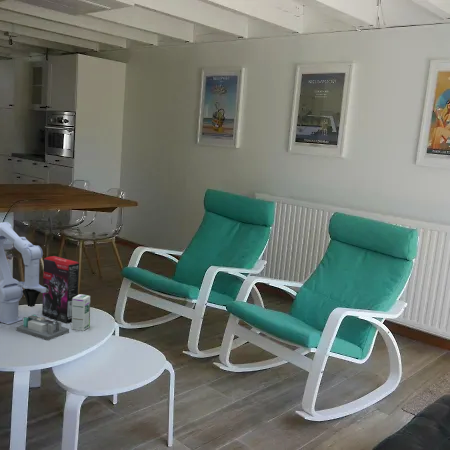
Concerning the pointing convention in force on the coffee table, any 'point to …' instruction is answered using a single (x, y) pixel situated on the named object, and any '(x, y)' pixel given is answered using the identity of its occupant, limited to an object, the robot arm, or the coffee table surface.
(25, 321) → the clamp board
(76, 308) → the syrup box
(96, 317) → the coffee table surface
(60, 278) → the graphics card box
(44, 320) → the clamp strap
